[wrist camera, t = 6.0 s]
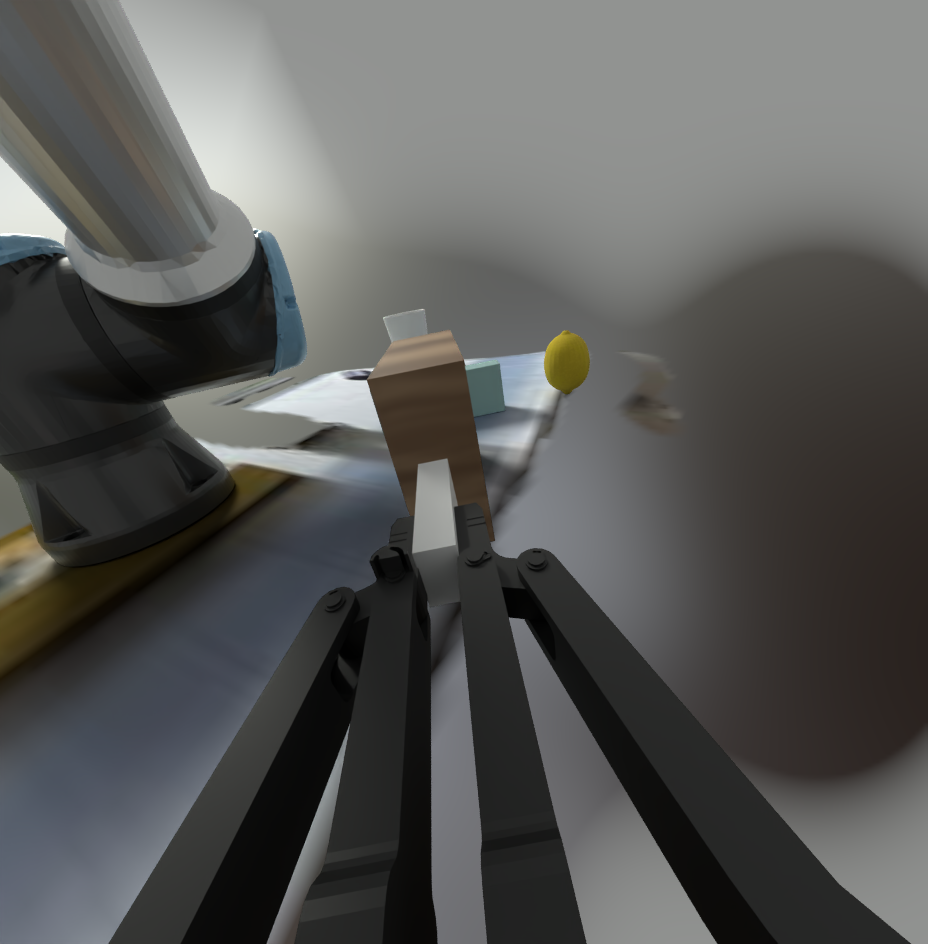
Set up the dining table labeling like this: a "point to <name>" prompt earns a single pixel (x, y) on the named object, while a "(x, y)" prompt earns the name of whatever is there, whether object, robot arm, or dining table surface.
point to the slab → (429, 416)
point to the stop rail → (484, 388)
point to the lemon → (566, 362)
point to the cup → (406, 325)
